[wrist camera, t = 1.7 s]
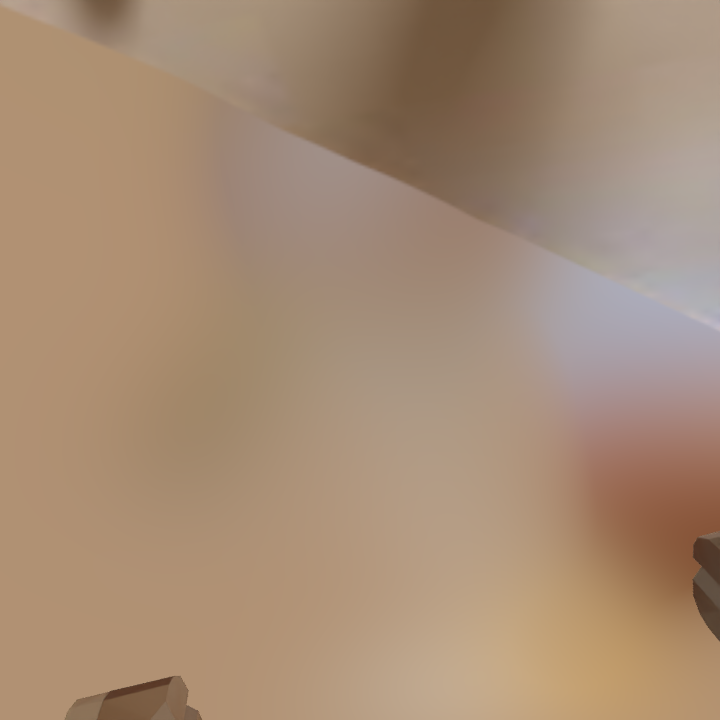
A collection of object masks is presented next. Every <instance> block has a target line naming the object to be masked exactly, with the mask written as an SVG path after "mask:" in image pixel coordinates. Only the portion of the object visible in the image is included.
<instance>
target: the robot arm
mask: <svg viewBox="0 0 720 720" xmlns="http://www.w3.org/2000/svg"><path fill="white" fill-rule="evenodd" d="M693 558H694V559H695V560H696V561H697V562H698V563H699V564H700V565H701V566H702V567H701V568H700V570H699V571H698V573H697V574H696V575H695V577H694V578H693V596H694V599H695V602H696V605H697V607H698V610H699V613H700V615H701V617H702V618H703V620H704V621H705V623H706V625H707V626H708V628H709V629H710V630H711V631H712V633H713V634H714V635H715V636H716V638H717V639H718V640H719V641H720V531H719V532H715V533H712V534H708V535H704V536H701V537H698V538H697V539H696V541H695V543H694V545H693ZM187 697H188V689H187V687H186V685H185V684H184V682H183V680H182V678H181V677H180V676H173V677H168V678H164V679H160V680H156V681H151V682H147V683H143V684H139V685H135V686H130V687H126V688H121V689H117V690H113V691H110V692H107V693H103V694H99V695H95V696H90V697H86V698H82V699H78V700H77V701H76V702H75V703H74V704H73V705H72V707H71V708H70V709H69V711H68V713H67V715H66V718H65V720H202V718H201V716H200V714H199V712H198V711H197V710H195V709H193V708H191V707H189V706H187V705H186V703H187Z"/></svg>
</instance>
